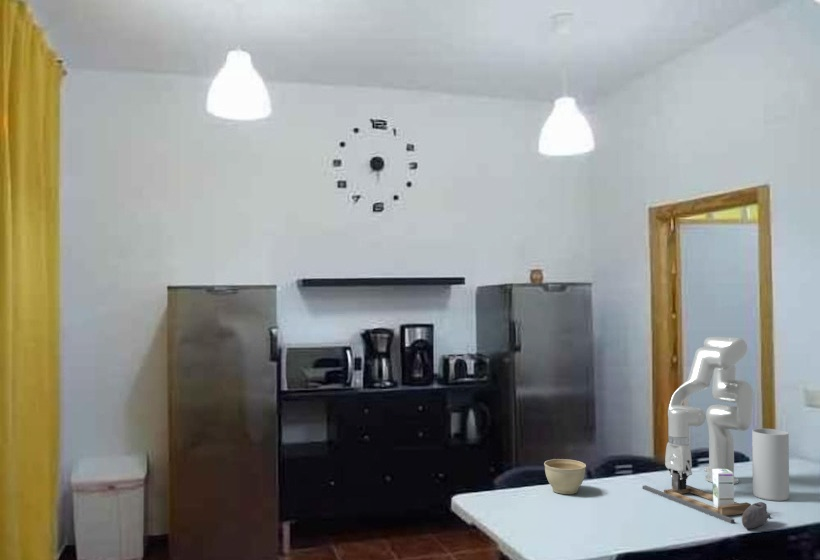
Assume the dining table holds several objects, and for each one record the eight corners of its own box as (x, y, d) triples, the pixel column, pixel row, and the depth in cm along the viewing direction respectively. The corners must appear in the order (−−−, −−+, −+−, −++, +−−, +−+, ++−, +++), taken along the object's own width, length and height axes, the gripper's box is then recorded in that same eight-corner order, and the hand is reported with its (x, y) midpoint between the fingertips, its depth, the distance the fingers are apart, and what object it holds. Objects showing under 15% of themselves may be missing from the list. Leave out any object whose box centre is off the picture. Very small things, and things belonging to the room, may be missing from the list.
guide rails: (642, 488, 285) (642, 485, 285) (678, 484, 291) (678, 481, 291) (730, 523, 242) (730, 519, 242) (770, 517, 248) (770, 514, 248)
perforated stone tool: (750, 533, 233) (750, 511, 233) (735, 528, 237) (734, 507, 237) (772, 523, 242) (772, 503, 242) (756, 520, 246) (756, 499, 246)
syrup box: (735, 513, 253) (734, 472, 253) (718, 513, 253) (717, 472, 254) (728, 508, 259) (728, 468, 259) (712, 508, 259) (711, 468, 259)
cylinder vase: (793, 496, 274) (792, 431, 275) (783, 503, 265) (783, 436, 265) (758, 490, 283) (758, 427, 283) (748, 497, 273) (747, 431, 274)
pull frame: (662, 493, 277) (662, 474, 278) (689, 490, 282) (689, 471, 282) (722, 516, 249) (722, 494, 249) (750, 512, 253) (750, 491, 253)
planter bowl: (540, 494, 277) (540, 466, 277) (548, 484, 292) (548, 457, 292) (582, 499, 271) (582, 470, 271) (588, 488, 286) (588, 461, 286)
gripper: (656, 437, 285) (656, 483, 285) (686, 445, 270) (686, 494, 269) (671, 436, 288) (672, 481, 287) (701, 444, 272) (702, 492, 272)
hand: (679, 487), depth 278 cm, fingers closed on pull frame, 3 cm apart
